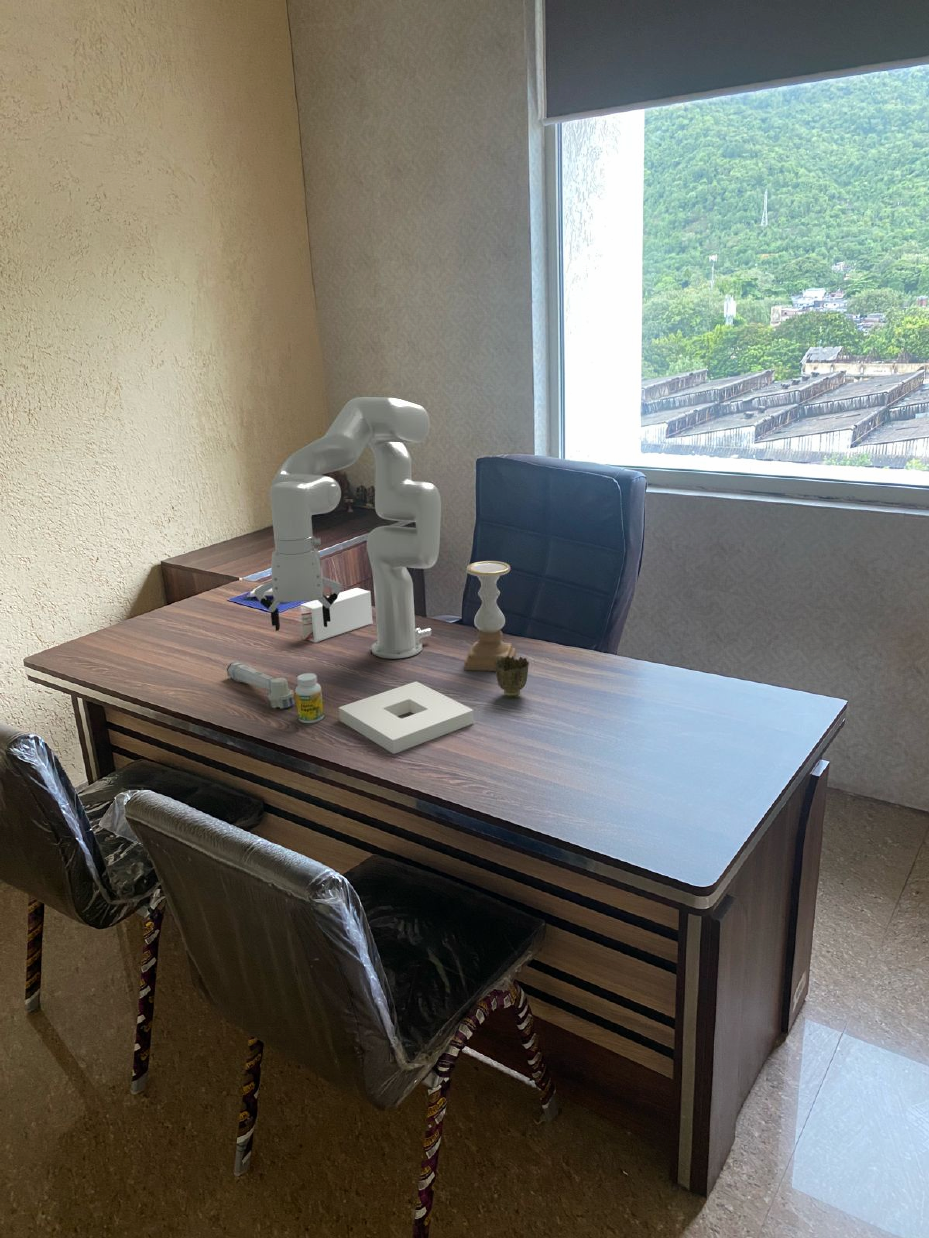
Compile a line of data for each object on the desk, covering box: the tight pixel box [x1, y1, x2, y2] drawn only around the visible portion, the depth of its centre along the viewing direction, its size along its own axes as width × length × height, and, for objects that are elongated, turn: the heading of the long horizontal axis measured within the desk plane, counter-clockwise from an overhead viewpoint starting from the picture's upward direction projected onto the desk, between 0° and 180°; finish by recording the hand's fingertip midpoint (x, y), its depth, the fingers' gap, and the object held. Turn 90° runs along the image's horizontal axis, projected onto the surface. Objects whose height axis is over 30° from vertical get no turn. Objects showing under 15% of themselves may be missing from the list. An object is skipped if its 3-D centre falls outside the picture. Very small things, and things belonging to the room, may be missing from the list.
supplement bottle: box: [294, 672, 325, 724], centre depth 191 cm, size 5×5×10 cm
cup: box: [494, 656, 530, 699], centre depth 199 cm, size 8×7×8 cm
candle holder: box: [464, 560, 517, 672], centre depth 215 cm, size 11×11×24 cm
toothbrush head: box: [226, 661, 295, 709], centre depth 206 cm, size 5×7×25 cm
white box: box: [300, 587, 374, 643], centre depth 241 cm, size 20×6×9 cm, turn 135°
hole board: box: [338, 680, 475, 755], centre depth 189 cm, size 20×20×3 cm
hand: (301, 626), depth 186 cm, fingers open, 9 cm apart
